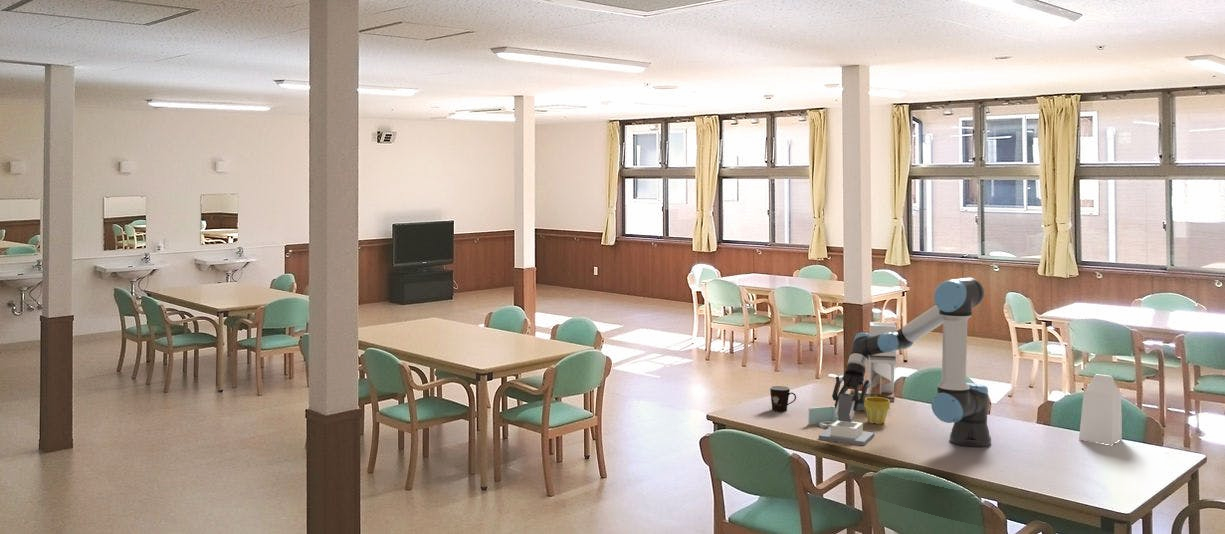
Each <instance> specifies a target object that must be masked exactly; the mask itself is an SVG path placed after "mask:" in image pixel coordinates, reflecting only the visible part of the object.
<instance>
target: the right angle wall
mask: <svg viewBox="0 0 1225 534" xmlns="http://www.w3.org/2000/svg"><path fill="white" fill-rule="evenodd" d="M835 411H836V408H835V405H827V406H818V407H817V406H816V407H809V408H808V425H809V426H814V425H815V426H816V425H818V426H819V428H820V429H828V428H829V427H831V425H832V424H833V423H835V422H836V421H837V420H838V417H836V415H835Z"/></svg>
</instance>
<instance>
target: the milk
mask: <svg viewBox="0 0 1225 534" xmlns="http://www.w3.org/2000/svg"><path fill="white" fill-rule="evenodd" d="M1082 396H1083V397H1082V405H1081V414H1080V417H1081V418H1080V425H1079V435H1078V441H1081V440H1084V441H1083V442H1086V441H1091V442H1098V443H1104V444H1109V445H1112V444H1114V443H1115V442H1117V441H1118V440H1122V441H1123V439H1122V438H1123V437H1122V436H1123V435H1122V434H1123V432H1122V431H1123V428H1122V424H1123V419H1122V417H1123V416H1122V392H1121V390H1120V389H1119V387H1118V386H1117V385H1116V383H1115V380H1114V378H1113V375H1107V374H1102V373H1101V374H1100V373H1099V374H1098V373H1095V374H1094V376H1093V377H1092V378H1091V381H1090V382H1089V384H1088V385H1087V387H1086V389H1085V391H1084V392H1083V395H1082ZM1091 442H1090V443H1091Z"/></svg>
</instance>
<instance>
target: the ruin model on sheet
mask: <svg viewBox="0 0 1225 534" xmlns="http://www.w3.org/2000/svg"><path fill="white" fill-rule="evenodd" d="M861 393H862V392H859V399H860V397H861ZM849 394H853V395H855V389H850V392H849ZM876 395H877V394H868V392H866V397H865V398H867V397H876ZM861 410H865V411H864V412H866V407H865V406H864V404H859V405H858V409H857V411H861Z"/></svg>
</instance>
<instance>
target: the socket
mask: <svg viewBox="0 0 1225 534" xmlns="http://www.w3.org/2000/svg"><path fill="white" fill-rule="evenodd" d="M873 438H875V432H871V431H864V423H863V422H857V421H852V422H846V424H845V423H844V421H838V420H837V421H836V422H835V423H833V424H832V425H831V427H829V428H826V429H825V430H824V431H822V432H821V433H820V434H819V435H818V440H822V441H828V440H831V441H830V442H835V441H839V442H838V443H842V442H845V443H844V444H849V443H850V444H851V445H857V446H863V447H864V446H865V445H867V443H869V442H870V441H872V440H873Z"/></svg>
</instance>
